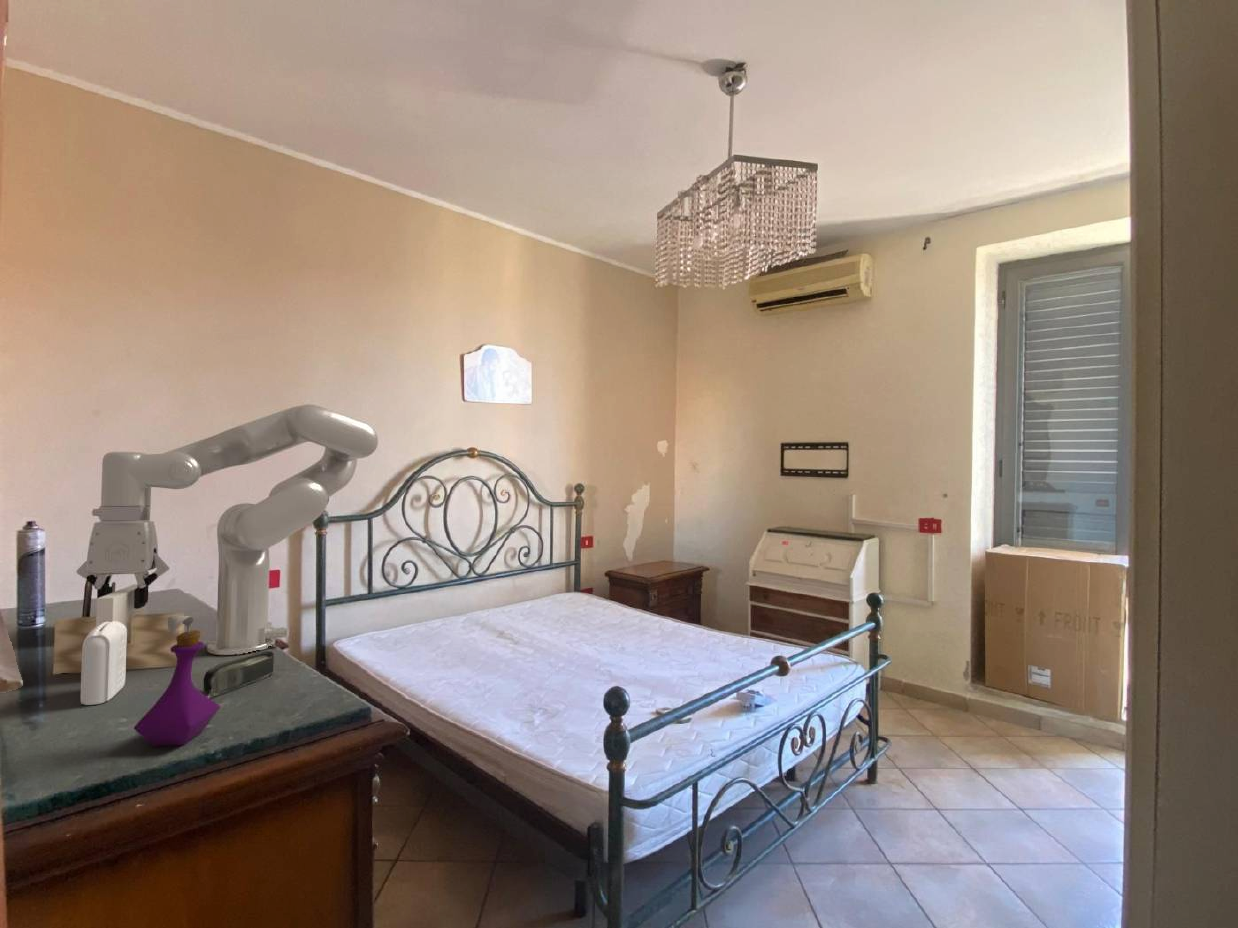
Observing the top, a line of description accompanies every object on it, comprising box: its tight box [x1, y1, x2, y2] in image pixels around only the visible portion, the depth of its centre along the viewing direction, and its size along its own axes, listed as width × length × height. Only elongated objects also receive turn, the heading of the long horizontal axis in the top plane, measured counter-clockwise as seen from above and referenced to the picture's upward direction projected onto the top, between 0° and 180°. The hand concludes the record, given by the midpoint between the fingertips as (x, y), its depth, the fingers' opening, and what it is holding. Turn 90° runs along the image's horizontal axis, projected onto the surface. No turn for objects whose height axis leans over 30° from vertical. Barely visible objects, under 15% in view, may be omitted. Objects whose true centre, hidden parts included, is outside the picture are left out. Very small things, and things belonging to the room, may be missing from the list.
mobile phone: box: [203, 650, 275, 699], centre depth 107 cm, size 5×3×15 cm
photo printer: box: [80, 621, 127, 706], centre depth 102 cm, size 10×4×12 cm, turn 26°
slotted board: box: [52, 612, 186, 675], centre depth 116 cm, size 20×2×10 cm, turn 107°
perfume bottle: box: [133, 615, 221, 747], centre depth 86 cm, size 8×8×18 cm
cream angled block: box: [95, 583, 148, 643], centre depth 116 cm, size 14×2×15 cm, turn 18°
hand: (122, 606), depth 116 cm, fingers open, 4 cm apart
